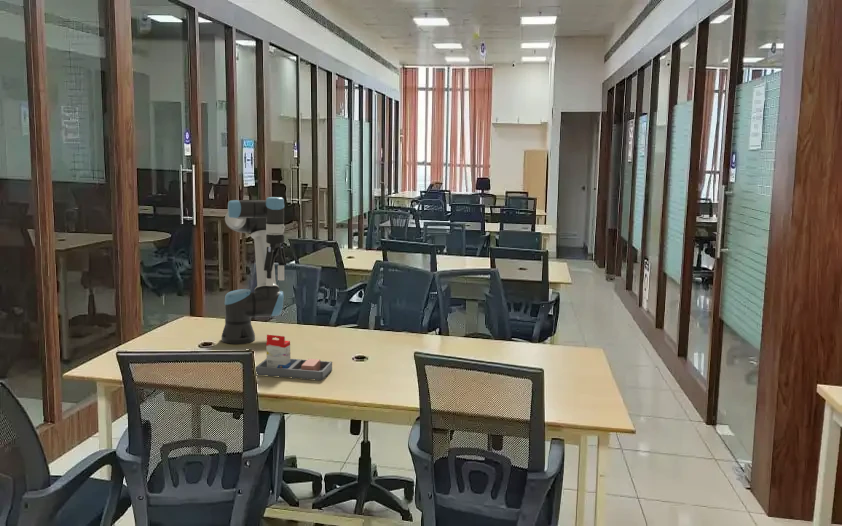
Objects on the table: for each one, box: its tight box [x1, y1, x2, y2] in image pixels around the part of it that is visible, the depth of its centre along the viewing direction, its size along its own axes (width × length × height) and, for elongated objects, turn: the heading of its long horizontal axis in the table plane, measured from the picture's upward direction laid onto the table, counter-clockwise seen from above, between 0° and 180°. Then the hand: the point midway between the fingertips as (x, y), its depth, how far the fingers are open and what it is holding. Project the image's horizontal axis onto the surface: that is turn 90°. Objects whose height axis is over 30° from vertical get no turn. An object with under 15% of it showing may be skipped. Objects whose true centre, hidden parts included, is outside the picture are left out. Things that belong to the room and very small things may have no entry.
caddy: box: [255, 358, 333, 381], centre depth 274 cm, size 27×14×4 cm, turn 82°
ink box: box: [265, 334, 291, 369], centre depth 274 cm, size 8×5×15 cm, turn 74°
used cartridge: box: [301, 358, 321, 371], centre depth 273 cm, size 5×9×4 cm, turn 172°
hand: (275, 283), depth 293 cm, fingers open, 13 cm apart
